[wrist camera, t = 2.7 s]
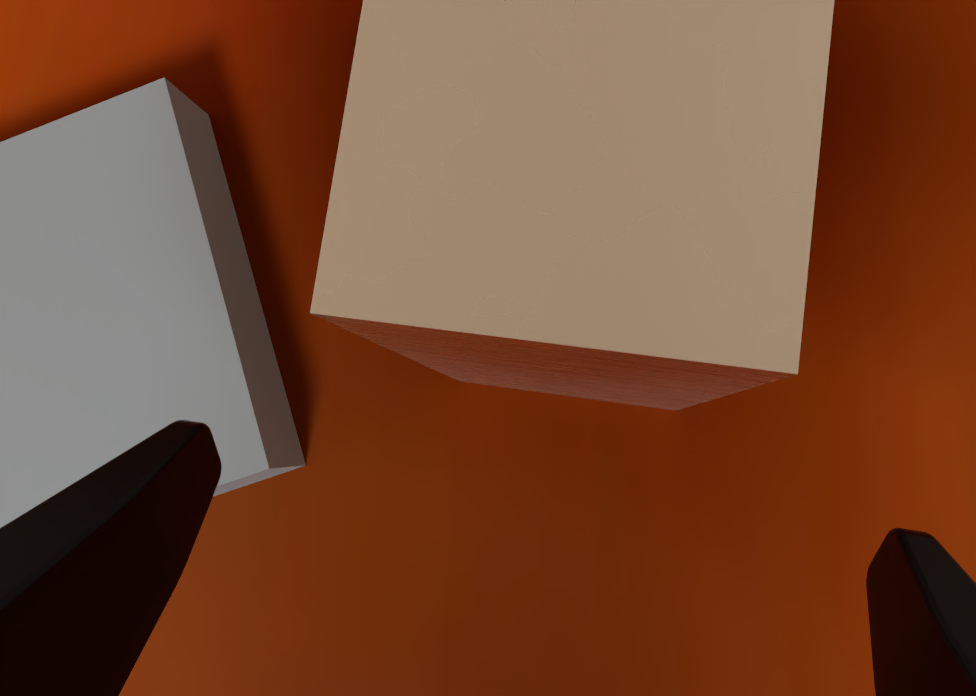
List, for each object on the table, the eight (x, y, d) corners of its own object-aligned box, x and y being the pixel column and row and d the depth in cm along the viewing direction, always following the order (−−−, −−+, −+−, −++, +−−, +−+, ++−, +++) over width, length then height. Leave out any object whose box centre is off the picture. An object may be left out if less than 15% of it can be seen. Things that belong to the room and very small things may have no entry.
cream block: (676, 410, 21) (798, 373, 9) (458, 381, 22) (309, 312, 10) (700, 196, 21) (844, -101, 10) (488, 176, 22) (382, -117, 11)
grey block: (311, 464, 22) (269, 468, 19) (-30, 579, 23) (-118, 599, 21) (215, 120, 24) (164, 77, 21) (-95, 241, 25) (-185, 215, 22)
